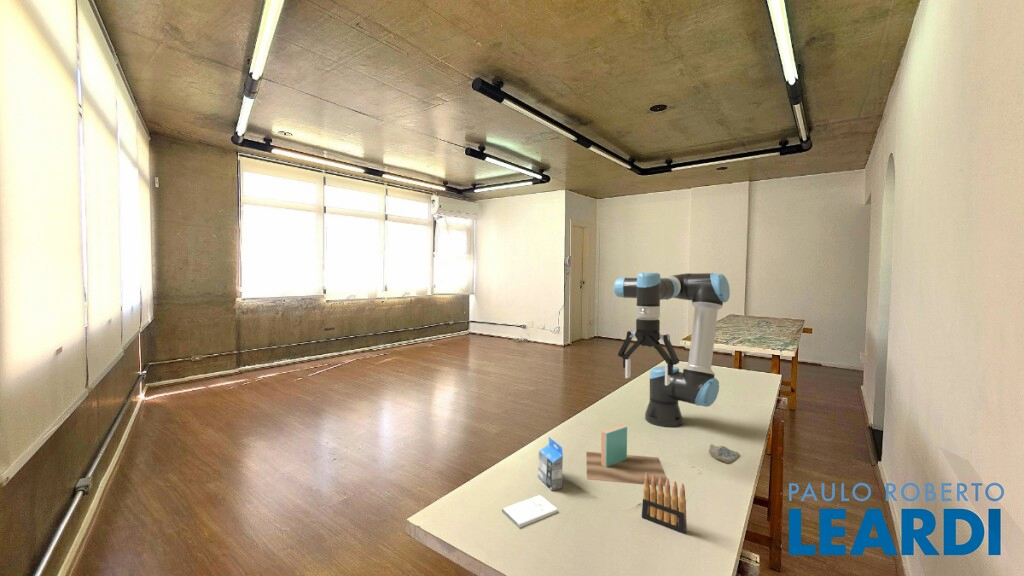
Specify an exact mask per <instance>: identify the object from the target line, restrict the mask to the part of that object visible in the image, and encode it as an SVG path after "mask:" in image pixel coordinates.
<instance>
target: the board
mask: <svg viewBox="0 0 1024 576" xmlns="http://www.w3.org/2000/svg"><path fill="white" fill-rule="evenodd" d="M659 458H660V457H657V456H645V455H633V454H627V459H626V460H623V461H621V462H618V463H616V464H613V465H611V466H608V467H605V466H603V465H601V452H595V451H586V480H589V481H590V480H591V481H592V480H593V481H600V482H612V483H623V484H624V483H625V484H634V485H635V484H636V485H644V481H645V475H646V472H647V473H648V475H649V486H651V480H652V476H653V474H654V475H655V478H656V487H658V481H659V478H660V476H661V477H662V481H663V487H665V484H666V480H667V479H668V478H667V476H666V472H665V471H664V467H663V465H662V464H661V461H660V459H659Z"/></svg>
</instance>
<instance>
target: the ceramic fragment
mask: <svg viewBox="0 0 1024 576" xmlns="http://www.w3.org/2000/svg"><path fill="white" fill-rule="evenodd" d="M708 453H709V455H710V456H711V457H713V458H715V459H717V460H719V461H721V462H723V463H725V464H732V463H734V462H736V461H738V459H739V458H740V453H739V452H738V451H735V450H732V449H729V448H728V447H727V446H724V445H720V446H717V445H714V444H713V443H711V444H710V445H709V449H708Z"/></svg>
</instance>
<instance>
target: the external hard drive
mask: <svg viewBox="0 0 1024 576" xmlns="http://www.w3.org/2000/svg"><path fill="white" fill-rule="evenodd" d="M501 512H502V514H504V515H505V517H507V518H508V519H509V520H510V521H511V522H512V523H513V524H514V525H515V526H516V527H517V529H521V528H523V527H526V526H528V525H531V524H533V523H535V522H538V521H540V520H542V519H545V518H547V517H549V516H552V515H555V514H558V512H559V510H558V508H557V507H556V506H555V505H553V504H552V503H551V502H550V501H548V500H547V499H546V498H545V497H544V496H542V495H540V494H539V495H536V496H533V497H531V498H528V499H525V500H523V501H519V502H516V503H514V504H512V505H511V504H510V505H508V506H506V507H503V508H502V509H501Z"/></svg>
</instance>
